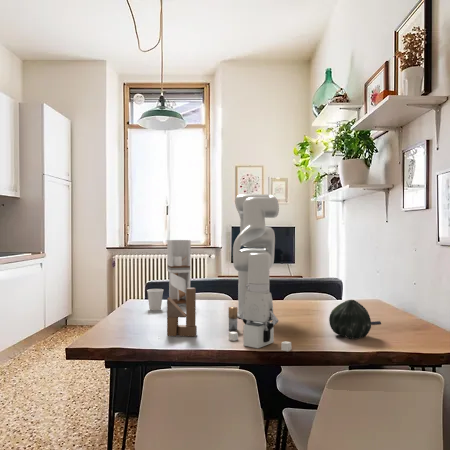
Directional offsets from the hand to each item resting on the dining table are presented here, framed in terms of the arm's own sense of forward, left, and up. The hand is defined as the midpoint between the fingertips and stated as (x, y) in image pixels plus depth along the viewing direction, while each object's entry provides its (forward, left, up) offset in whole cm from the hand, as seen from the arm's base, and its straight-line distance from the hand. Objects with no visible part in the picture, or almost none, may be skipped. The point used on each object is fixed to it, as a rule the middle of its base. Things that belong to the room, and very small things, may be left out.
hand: (258, 339), depth 146 cm
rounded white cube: (0, -11, -2) cm, 11 cm away
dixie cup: (-24, -78, -2) cm, 82 cm away
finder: (0, 0, -1) cm, 1 cm away
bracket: (-59, +13, -3) cm, 60 cm away
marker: (0, +11, -2) cm, 11 cm away
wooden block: (+7, -30, -2) cm, 31 cm away
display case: (-43, -80, -2) cm, 91 cm away
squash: (-31, +21, -2) cm, 37 cm away
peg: (-12, -20, -2) cm, 23 cm away
